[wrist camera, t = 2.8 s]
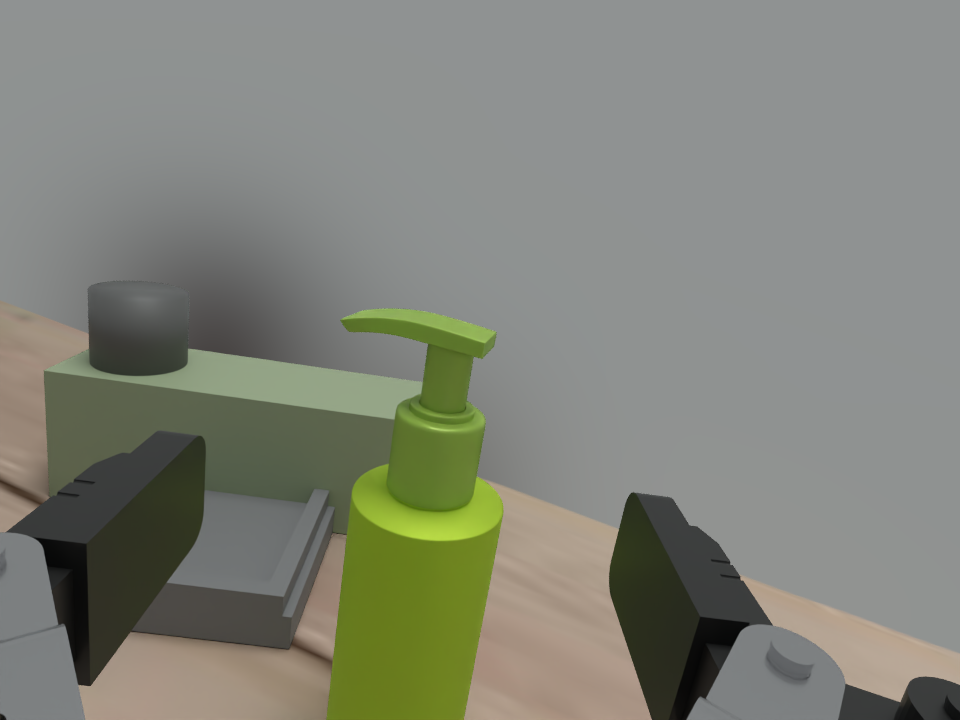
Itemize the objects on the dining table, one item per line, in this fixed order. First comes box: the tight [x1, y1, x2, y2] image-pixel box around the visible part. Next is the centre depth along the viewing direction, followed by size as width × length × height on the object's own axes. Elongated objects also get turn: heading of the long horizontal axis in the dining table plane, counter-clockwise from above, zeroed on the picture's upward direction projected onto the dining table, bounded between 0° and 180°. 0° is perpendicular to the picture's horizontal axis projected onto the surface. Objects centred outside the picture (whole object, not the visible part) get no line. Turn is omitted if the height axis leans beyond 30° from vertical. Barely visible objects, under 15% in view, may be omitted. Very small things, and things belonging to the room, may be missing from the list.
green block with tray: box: [44, 281, 423, 649], centre depth 40 cm, size 19×26×14 cm
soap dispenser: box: [326, 309, 503, 720], centre depth 25 cm, size 6×7×20 cm
